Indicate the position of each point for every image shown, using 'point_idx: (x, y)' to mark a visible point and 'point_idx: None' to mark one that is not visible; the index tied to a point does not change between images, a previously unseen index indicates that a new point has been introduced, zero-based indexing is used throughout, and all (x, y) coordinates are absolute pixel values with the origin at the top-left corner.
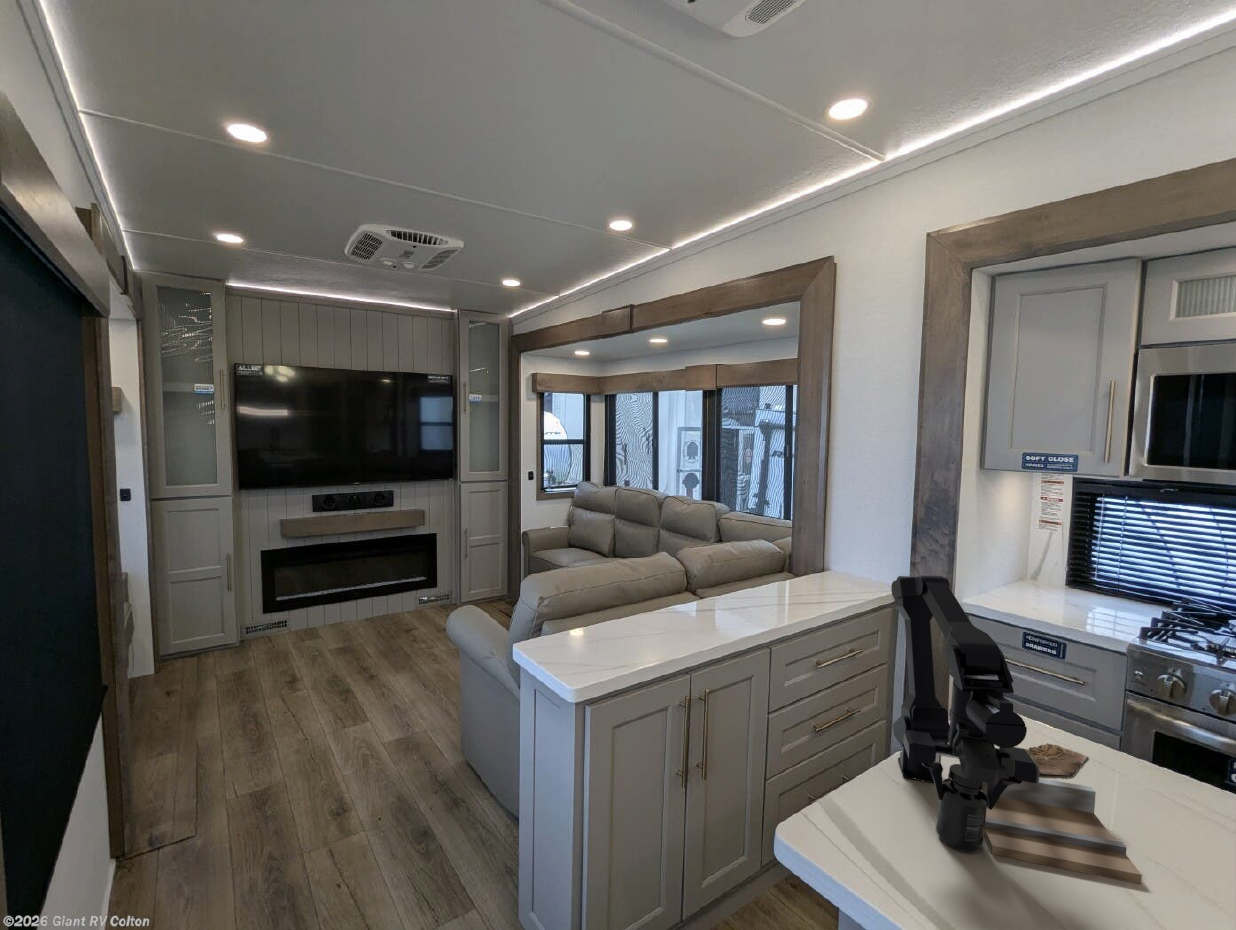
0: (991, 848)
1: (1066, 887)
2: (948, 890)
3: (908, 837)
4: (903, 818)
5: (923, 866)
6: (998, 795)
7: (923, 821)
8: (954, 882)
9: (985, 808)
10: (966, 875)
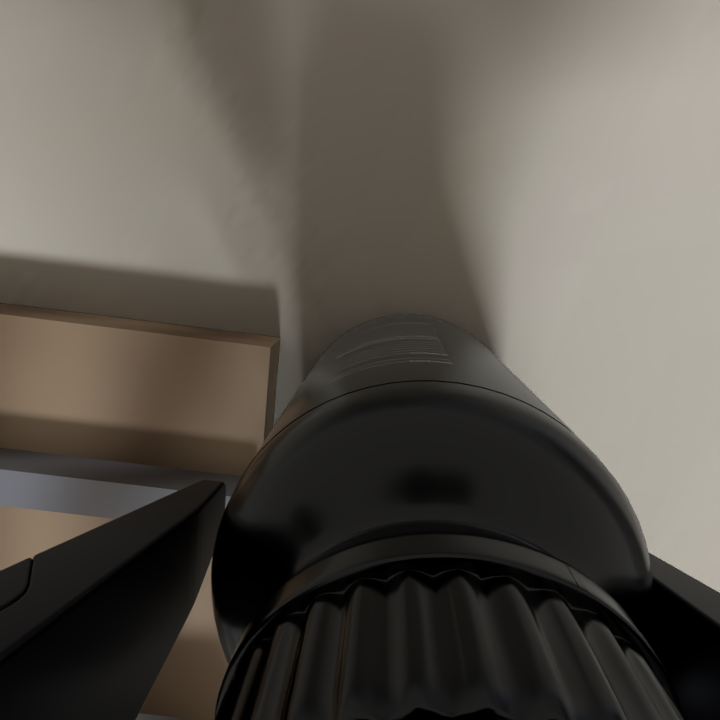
0: (274, 353)
1: (6, 165)
2: (625, 11)
3: (650, 385)
4: None
5: (674, 179)
6: (68, 551)
7: None
8: (562, 84)
9: (272, 435)
10: (474, 154)
